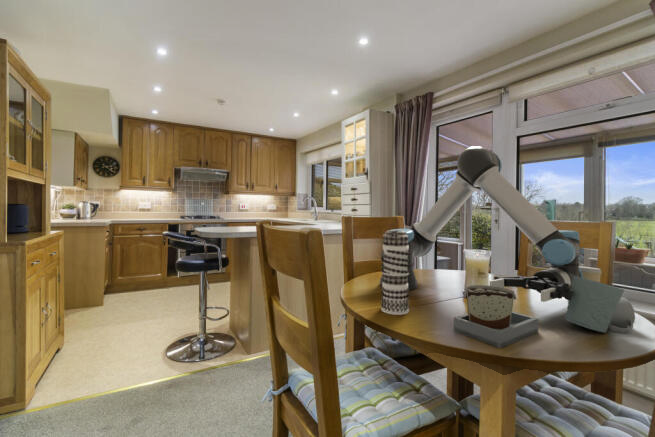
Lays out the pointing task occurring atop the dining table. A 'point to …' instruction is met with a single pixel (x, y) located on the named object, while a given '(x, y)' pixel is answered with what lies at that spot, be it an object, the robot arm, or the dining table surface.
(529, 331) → the tray
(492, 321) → the food container
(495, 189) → the robot arm
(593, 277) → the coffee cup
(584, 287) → the teal tapered cylinder
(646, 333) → the dining table surface
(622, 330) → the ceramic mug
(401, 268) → the decorative candle
